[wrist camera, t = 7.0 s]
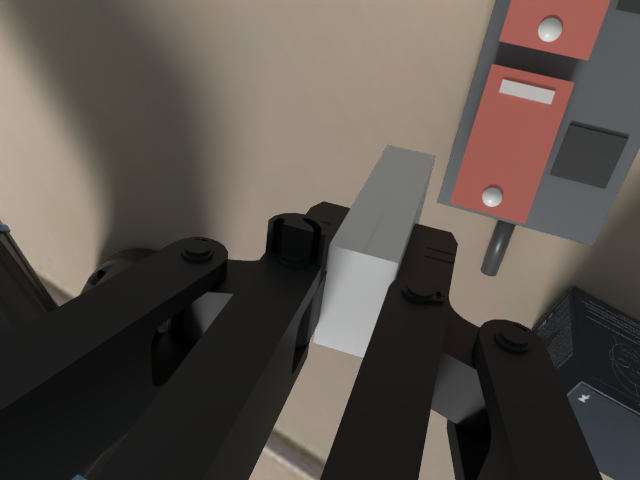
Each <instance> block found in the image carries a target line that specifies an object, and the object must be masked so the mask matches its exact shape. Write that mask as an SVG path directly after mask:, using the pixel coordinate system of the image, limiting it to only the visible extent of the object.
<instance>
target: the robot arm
mask: <svg viewBox="0 0 640 480" xmlns="http://www.w3.org/2000/svg"><path fill="white" fill-rule="evenodd" d="M435 157H436V156H434V155H430V154H425V153H421V152H417V151H412V150H408V149H404V148H399V147H395V146H391V145H387V147H386V148H385V150H384V152H383V154H382V155H381V157H380V159H379V161H378V162H377V164H376V166H375V167H374V169H373V171H372V173H371V174H370V176H369V178H368V179H367V181H366V183H365V185H364V186H363V188H362V190H361V191H360V193H359V195H358V197H357V198H356V200H355V202H354V203H353V205H352V207H351V208H347V207H343V206H340V205H336V204H332V203H328V202H321V203H319V204H317V205H315V206H313V207H311V208H310V209H309V211H308V212H307V213H306V215H305V214H298V213H284V214H280V215H276V216H274V217H272V218H271V219H270V220H269V221H268V232H267V242H266V252H265V253H264V255H263V256H262V257H261V259H260V260H256V261H242V260H229V259H228V251H227V249H226V248H225V246H224V245H222V244H221V243H219V242H218V241H215V240H212V239H209V238H204V237H202V238H201V237H192V238H184V239H181V240H179V241H176V242H174V243H172V244H170V245H168V246H167V247H165V248H163V249H161V250H160V251H154V250H149V249H129V250H125V251H121V252H119V253H117V254H115V255H113V256H112V257H110V258H109V259H108V260H107V261H106V262H104V263H103V264H102V265H101V266H99V267H98V268H97V269H96V270H95V271H94V272H93V273H92V275H91V276H90V277H89V279H88V281H87V282H86V284H85V286H84V288H83V290H82V292H81V293H80V295H79V296H78V297H76V298H74V299H72V300H70V301H69V302H67V303H65V304H63V305H61V306H60V307H59V306H58V305H57V303H56V302H55V300H54V299H53V297H52V296H51V294H50V293H49V291H48V290H47V289H46V287H45V286H44V284H43V283H42V281H41V280H40V278H39V277H38V275H37V274H36V272H35V271H34V269H33V268H32V267H31V265H30V264H29V262H28V261H27V259H26V258H25V256H24V255H23V253H22V252H21V250H20V249H19V247H18V245H17V244H16V242H15V241H14V239H13V238H12V236H11V235H10V233H9V232H10V229H9V227H8V226H7V225H4V224H3V223H2V222H1V221H0V480H249V477H250V475H251V473H252V471H253V469H254V467H255V465H256V463H257V461H258V459H259V456H260V454H261V452H262V450H263V448H264V446H265V444H266V442H267V440H268V438H269V436H270V433H271V431H272V429H273V427H274V425H275V423H276V421H277V419H278V417H279V415H280V413H281V410H282V408H283V406H284V404H285V402H286V400H287V398H288V396H289V394H290V392H291V389H292V387H293V385H294V383H295V381H296V379H297V377H298V375H299V373H300V371H301V369H302V366H303V364H304V362H305V360H306V358H307V355H308V348H309V342H310V339H311V337H312V335H313V333H314V331H315V336H314V342H313V343H316V344H320V345H323V346H326V347H329V348H333V349H336V350H339V351H343V352H346V353H349V354H352V355H356V356H359V357H362V358H363V361H362V363H361V366H360V369H359V372H358V375H357V378H356V380H355V383H354V386H353V389H352V392H351V394H350V397H349V400H348V403H347V406H346V408H345V411H344V414H343V417H342V420H341V423H340V425H339V428H338V431H337V434H336V437H335V439H334V442H333V445H332V448H331V451H330V453H329V456H328V459H327V462H326V465H325V468H324V470H323V473H322V476H321V479H320V480H418V478H419V472H420V466H421V461H422V455H423V450H424V444H425V438H426V433H427V427H428V422H429V416H430V410H431V409H432V410H434V411H436V412H437V413H439V414H441V415H442V416H444V417H446V418H447V433H448V439H449V444H450V450H451V456H452V462H453V468H454V474H455V480H602V477H601V475H600V473H599V470H598V468H597V465H596V463H595V461H594V458H593V456H592V454H591V451H590V449H589V447H588V444H587V442H586V440H585V437H584V435H583V433H582V430H581V428H580V425H579V423H578V421H577V418H576V416H575V414H574V411H573V409H572V407H571V404H570V402H569V400H568V397H567V395H566V392H565V390H564V388H563V385H562V383H561V381H560V378H559V376H558V374H557V371H556V369H555V367H554V364H553V362H552V360H551V357H550V355H549V352H548V350H547V348H546V345H545V344H544V342H543V341H542V340H541V338H540V337H539V336H538V335H537V334H536V333H534V332H533V331H532V330H531V329H529V328H527V327H525V326H523V325H521V324H519V323H516V322H512V321H508V320H490V321H487V322H485V323H484V324H483V325H482V326H481V327H478V326H476V325H474V324H472V323H470V322H468V321H467V320H465V319H463V318H462V317H461V316H460V315H458V314H457V313H456V312H455V311H454V309H453V308H452V307H451V305H450V301H449V290H450V285H451V279H452V274H453V268H454V262H455V256H456V251H457V246H458V243H457V242H456V240H455V238H454V236H453V234H452V233H451V232H447V231H443V230H439V229H435V228H431V227H427V226H423V225H419V220H420V216H421V212H422V208H423V204H424V200H425V196H426V192H427V188H428V184H429V180H430V176H431V172H432V169H433V165H434V161H435ZM315 329H316V330H315Z"/></svg>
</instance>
